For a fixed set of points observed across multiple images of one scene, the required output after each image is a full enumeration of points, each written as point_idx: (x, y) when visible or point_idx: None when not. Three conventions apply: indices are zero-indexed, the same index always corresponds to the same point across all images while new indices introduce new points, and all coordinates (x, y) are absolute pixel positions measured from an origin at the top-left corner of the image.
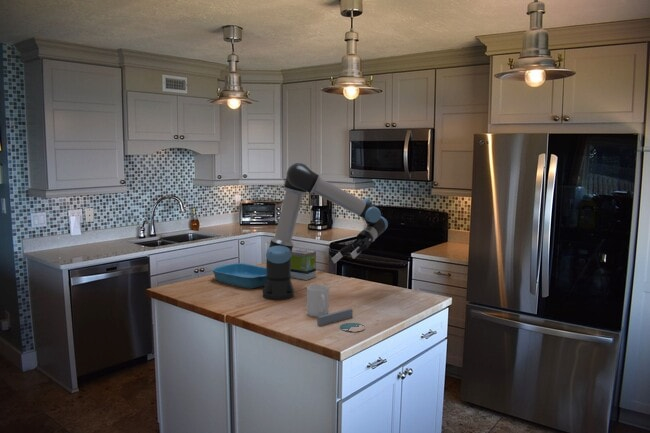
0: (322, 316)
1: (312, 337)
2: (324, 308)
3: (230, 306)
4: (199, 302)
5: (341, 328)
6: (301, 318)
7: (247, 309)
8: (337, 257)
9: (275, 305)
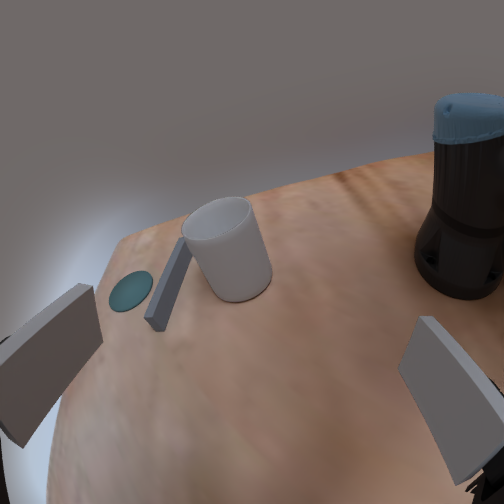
0: (178, 243)
1: (170, 228)
2: (192, 254)
3: (400, 175)
4: None
5: (143, 271)
6: None
7: (369, 188)
8: (441, 392)
9: (372, 228)
